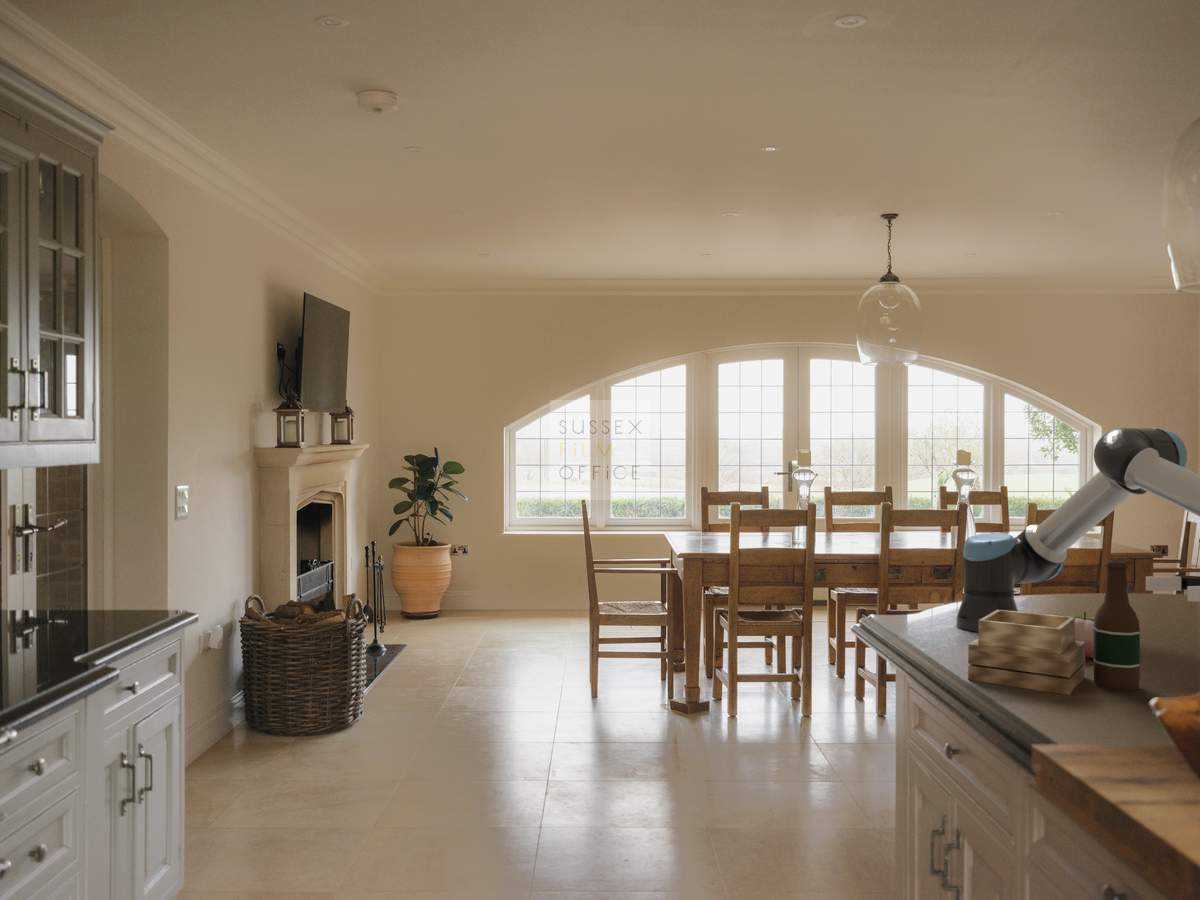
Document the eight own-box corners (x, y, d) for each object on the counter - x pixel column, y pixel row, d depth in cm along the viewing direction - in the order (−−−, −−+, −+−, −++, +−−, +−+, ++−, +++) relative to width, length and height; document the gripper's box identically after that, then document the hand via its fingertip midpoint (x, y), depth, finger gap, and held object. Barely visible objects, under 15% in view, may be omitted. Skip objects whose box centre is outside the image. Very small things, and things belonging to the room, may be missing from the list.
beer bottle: (1097, 678, 180) (1098, 557, 180) (1143, 685, 175) (1143, 560, 175) (1089, 687, 174) (1089, 561, 174) (1135, 694, 169) (1136, 564, 169)
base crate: (968, 679, 180) (968, 644, 179) (989, 664, 192) (989, 630, 192) (1069, 694, 169) (1069, 656, 169) (1084, 677, 181) (1084, 642, 181)
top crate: (978, 644, 179) (978, 620, 179) (997, 632, 191) (997, 609, 191) (1060, 654, 170) (1060, 629, 170) (1074, 641, 182) (1074, 617, 182)
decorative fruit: (1110, 656, 200) (1110, 610, 200) (1109, 663, 193) (1109, 616, 192) (1062, 651, 204) (1062, 606, 204) (1059, 658, 197) (1059, 612, 197)
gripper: (1330, 619, 162) (1208, 619, 163) (1236, 597, 187) (1131, 597, 188) (1329, 577, 162) (1207, 577, 163) (1236, 561, 187) (1130, 561, 188)
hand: (1166, 588), depth 175 cm, fingers open, 13 cm apart
